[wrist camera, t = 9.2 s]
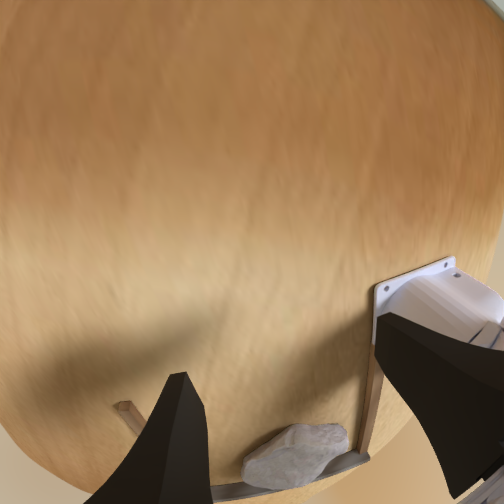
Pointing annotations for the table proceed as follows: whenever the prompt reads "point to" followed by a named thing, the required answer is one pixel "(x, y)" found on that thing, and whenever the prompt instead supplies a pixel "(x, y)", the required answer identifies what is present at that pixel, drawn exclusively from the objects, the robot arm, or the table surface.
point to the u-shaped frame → (333, 466)
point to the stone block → (294, 456)
